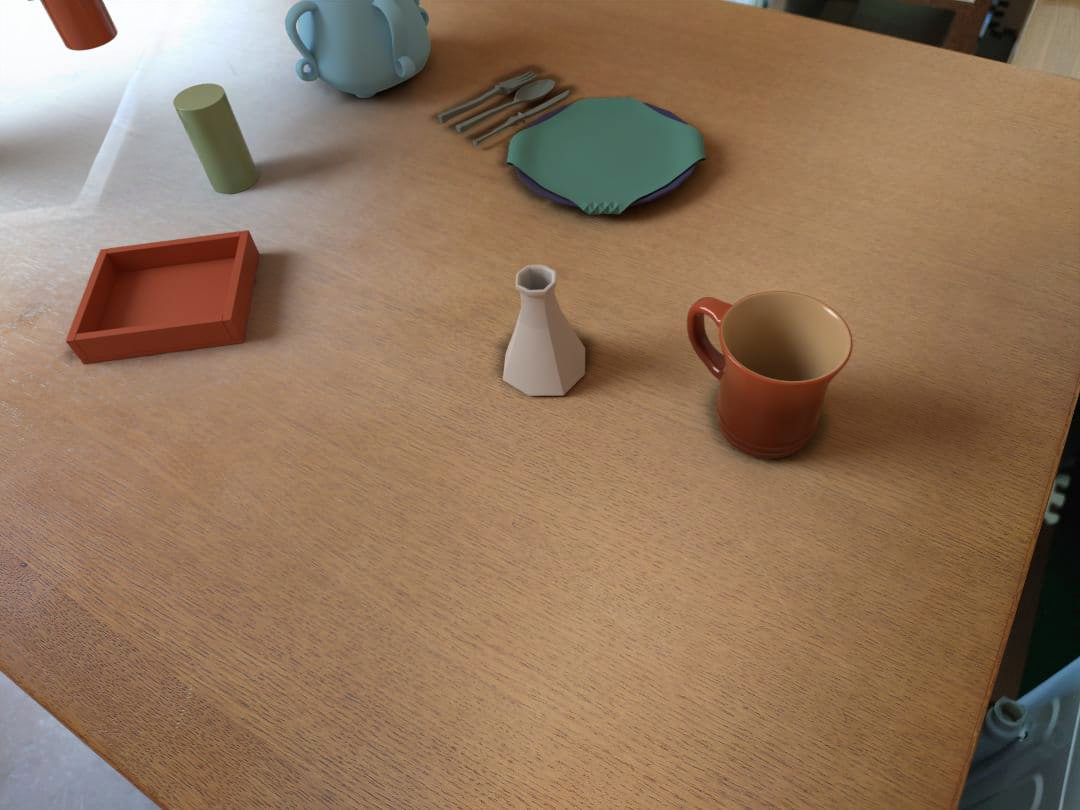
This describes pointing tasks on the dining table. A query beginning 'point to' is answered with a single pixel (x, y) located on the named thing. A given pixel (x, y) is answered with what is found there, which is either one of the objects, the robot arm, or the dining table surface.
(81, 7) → the terracotta canister
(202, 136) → the sage canister
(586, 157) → the cutlery set
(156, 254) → the terracotta tray
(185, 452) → the dining table surface
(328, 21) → the decorative pot
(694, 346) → the mug
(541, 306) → the flask
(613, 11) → the dining table surface
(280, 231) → the dining table surface
